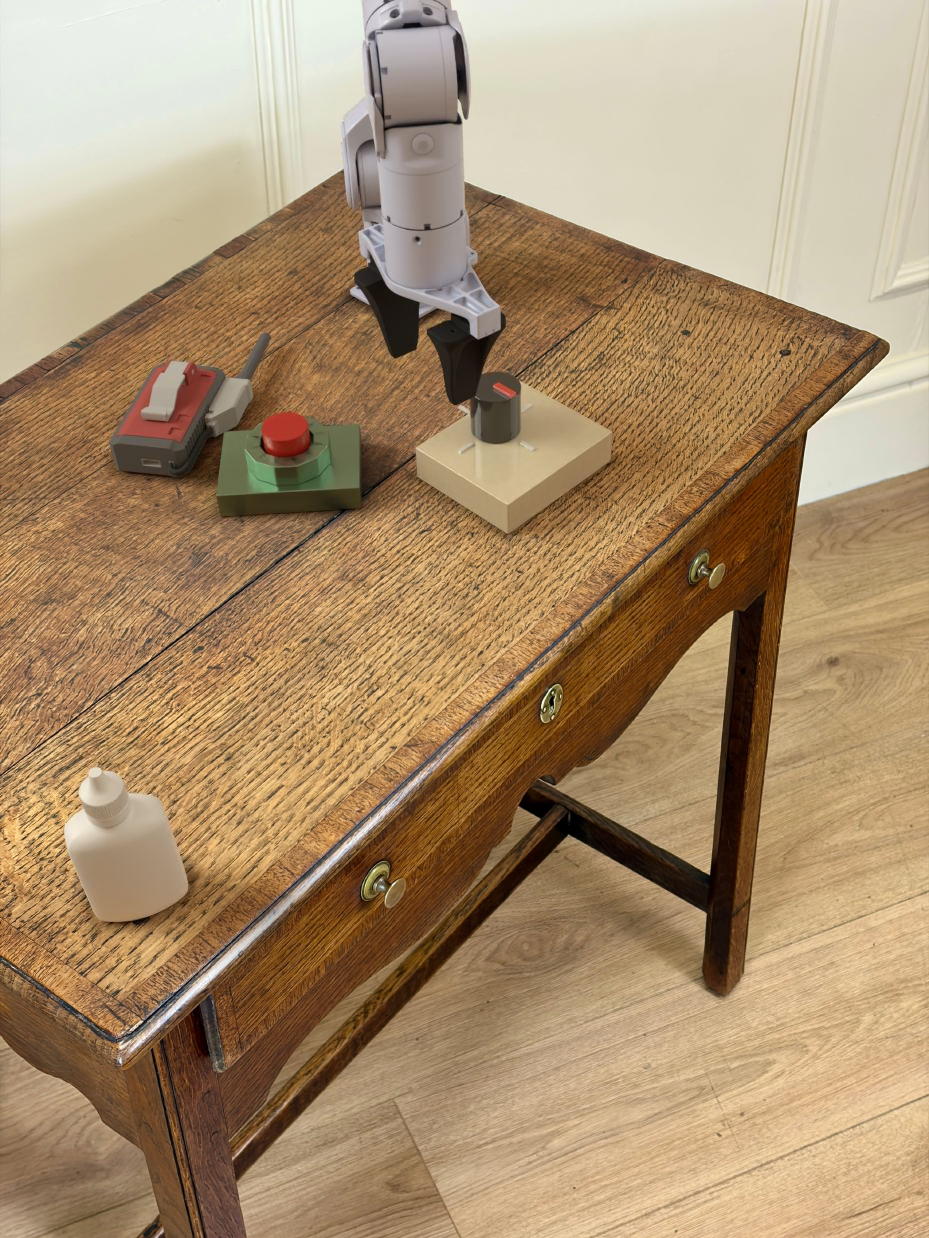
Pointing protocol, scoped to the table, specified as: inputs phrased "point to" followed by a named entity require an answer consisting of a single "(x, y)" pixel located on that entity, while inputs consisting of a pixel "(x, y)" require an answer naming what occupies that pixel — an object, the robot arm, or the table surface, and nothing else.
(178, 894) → the eye dropper bottle
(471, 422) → the dial
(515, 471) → the panel
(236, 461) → the housing
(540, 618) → the table surface
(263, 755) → the table surface
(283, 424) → the button
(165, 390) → the walkie-talkie
